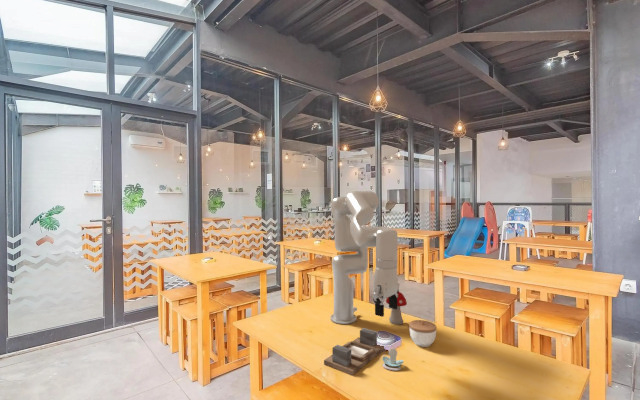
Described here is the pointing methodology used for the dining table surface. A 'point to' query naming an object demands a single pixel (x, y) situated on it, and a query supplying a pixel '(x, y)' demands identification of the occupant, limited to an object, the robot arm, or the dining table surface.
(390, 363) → the pacifier
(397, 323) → the decorative mushroom
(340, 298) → the robot arm
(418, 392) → the dining table surface
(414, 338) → the lidded jar
